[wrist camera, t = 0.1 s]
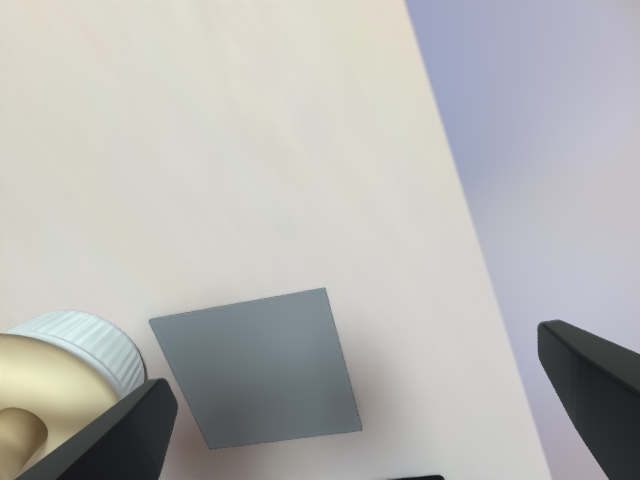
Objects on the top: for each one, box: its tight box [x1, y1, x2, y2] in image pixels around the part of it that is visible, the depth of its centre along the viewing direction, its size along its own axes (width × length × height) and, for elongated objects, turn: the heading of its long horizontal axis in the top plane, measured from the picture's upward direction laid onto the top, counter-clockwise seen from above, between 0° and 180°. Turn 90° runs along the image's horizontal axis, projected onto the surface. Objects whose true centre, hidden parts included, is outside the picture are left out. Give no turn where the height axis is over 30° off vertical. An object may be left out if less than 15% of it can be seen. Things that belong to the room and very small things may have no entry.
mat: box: [148, 288, 362, 449], centre depth 28 cm, size 13×13×1 cm
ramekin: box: [1, 310, 144, 400], centre depth 26 cm, size 11×11×5 cm
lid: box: [0, 334, 120, 480], centre depth 21 cm, size 12×12×4 cm
